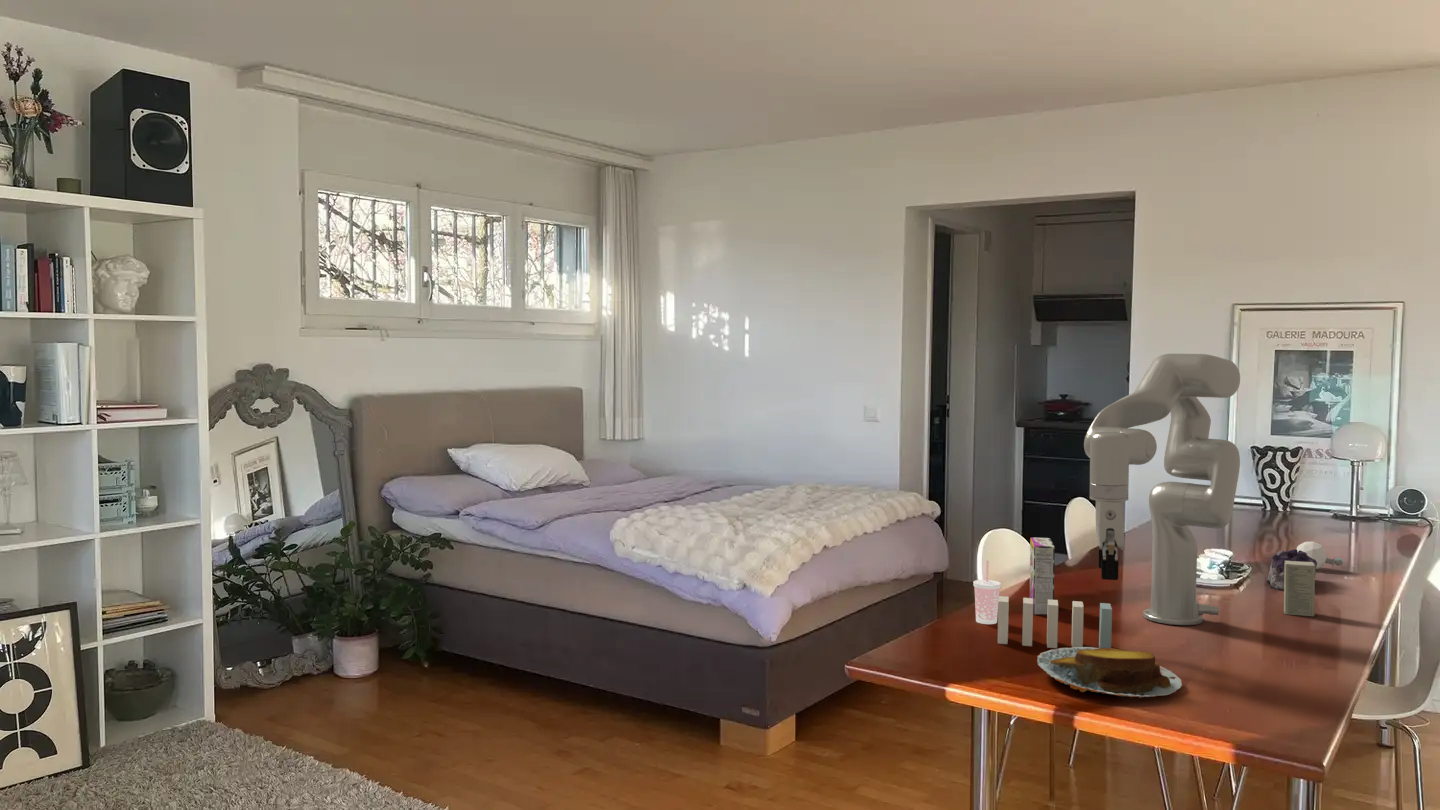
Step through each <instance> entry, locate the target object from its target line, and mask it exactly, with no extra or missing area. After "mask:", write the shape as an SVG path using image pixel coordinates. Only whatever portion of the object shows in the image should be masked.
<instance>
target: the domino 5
mask: <svg viewBox="0 0 1440 810" xmlns="http://www.w3.org/2000/svg"><path fill="white" fill-rule="evenodd" d="M1111 605H1112V604H1111V603H1106V602H1099V627H1098V628H1099V631H1098V634H1099V635H1098V648H1112V630H1113V628H1112V627H1113V625H1112V624H1113V623H1112V622H1113V608H1112V606H1111Z"/></svg>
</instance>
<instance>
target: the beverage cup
mask: <svg viewBox="0 0 1440 810" xmlns="http://www.w3.org/2000/svg"><path fill="white" fill-rule="evenodd" d="M989 566H990V565H989V560H986V565H985V568H986V569H985V573H986V575H985V579H976V580H973V581H972V582H973V587H974V602H975V603H974V604H975V605H974V607H975V622H976V623H978V624H982V625H995V624H998V600H999V596H1000V588H1002V586H1001V585H1002V583H1001V581H997V580H994V579H989Z"/></svg>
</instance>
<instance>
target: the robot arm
mask: <svg viewBox="0 0 1440 810" xmlns="http://www.w3.org/2000/svg"><path fill="white" fill-rule="evenodd" d="M1240 384H1241V374H1240V370H1239V368H1238V366H1237V365H1236V364H1235V362H1233V361H1232V360H1231V359H1230V360H1229V359H1226V358H1224V357H1223V358H1222V357H1219V356H1215V355H1212V354H1207V353H1165V354H1161V355H1159V356H1157V357H1156V358H1154V360H1153V361H1152V362H1151V364H1150V365H1149V367H1148V369H1147V370H1146V372H1145V374H1144V375H1143V377H1142V378H1141V380H1140V382H1139V384H1138V385H1137V386H1136V388H1135V389H1134V392H1132V393H1130V394H1128V395H1126V396H1123V397H1122V398H1120V399H1117V400H1116V401H1115V402H1113V403H1111V404H1109V405H1107V406H1105V407H1104V408H1102V409H1101V410H1100V411H1099V412H1098V413H1097V415H1095V417H1094V419H1093V421H1092V423H1090V424H1091V425H1089V427H1088V429H1087V432H1086V434H1085V436H1084V439H1083V440H1084V441H1083V448H1084V452H1085V453H1084V454H1085V455H1086V456H1087V457H1088V459H1089V500H1092V501H1095V532H1096V542H1097V543H1098V544H1097V545H1098V547H1099V549H1098V569H1101V570H1100V571H1101V576H1100V578H1101V579H1102V580H1103V581H1104V580H1105V581H1106V580H1107V581H1108V580H1109V581H1118V580H1119V560H1118V549H1120V550H1124V549H1125V510H1124V509H1125V508H1124V502H1126V501H1129V491H1130V489H1129V487H1130V486H1129V483H1130V482H1129V480H1130V479H1129V477H1130V467H1129V466H1130V465H1131V466H1132V465H1135V466H1137V465H1138V466H1140V465H1145V464H1148V463H1149V462H1150V461H1152V459H1153V458H1154V457H1155V455H1156V452H1157V450H1158V449H1157V448H1158V446H1157V445H1158V444H1157V440H1156V437H1155V436H1154V435H1153V434H1152V433H1151V432H1149V431H1148V430H1145V429H1141V428H1134V427H1139V426H1142V425H1147V424H1148V425H1149V424H1151V423H1154V422H1158V421H1160V420H1163V419H1165V418H1166V417H1167V416H1169V414H1170V422H1169V423H1170V424H1169V430H1168V433H1167V435H1168V436H1167V440H1166V446H1165V449H1164V458H1163V467H1164V470H1165V472H1166V473H1167V474H1169V476H1172V477H1176V478H1179V479H1180V478H1181V479H1190V480H1199V481H1210V484H1198V483H1194V482H1193V483H1192V482H1191V483H1190V482H1179V481H1164V482H1159V483H1157V484H1156V485H1154V486H1153V487H1152V489H1151V490H1150V492H1149V495H1148V507H1149V513H1150V519H1151V527H1152V528H1151V530H1152V533H1151V535H1152V544H1151V545H1152V547H1151V548H1152V549H1151V583H1150V585H1151V587H1150V590H1151V591H1150V607H1149V608H1145V609H1144V610H1143V611H1142V614H1143V617H1144V618H1145V619H1147V620H1150V621H1152V622H1156V623H1160V624H1165V625H1172V626H1174V625H1175V626H1194V625H1195V626H1196V625H1199V624H1202V623H1203V622H1204V621H1203V619H1204V617H1203V616H1204V615H1211V616H1219V607H1218V606H1215V605H1214V606H1213V605H1211V604H1201V603H1199V602H1198V600H1197V575H1198V574H1197V573H1198V571H1197V569H1198V568H1197V567H1198V542H1197V539H1196V538H1195V536H1194V533H1193V532H1192V530H1191V529H1190V526H1192V527H1199V528H1206V529H1207V528H1208V529H1223V528H1225V527H1226V526H1227V525H1228V524H1229V522H1230V521H1231V519H1232V514H1233V510H1234V505H1235V499H1236V492H1237V488H1238V481H1239V476H1240V468H1241V467H1240V466H1241V456H1240V451H1239V449H1238V446H1237V445H1236V444H1234V443H1233V442H1232V441H1230V440H1226V439H1219V438H1209V437H1210V436H1209V435H1210V430H1211V424H1212V423H1211V421H1212V419H1211V416H1210V414H1209V412H1208V411H1207V408H1206V407H1205V406H1204V405H1203V404H1202V402H1201V401H1200V400H1199V399H1198V398H1215V399H1216V398H1219V399H1224V398H1225V399H1226V398H1231V397H1232V396H1234V395H1235V394H1236V393H1237V392H1238V389H1239V388H1240Z"/></svg>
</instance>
